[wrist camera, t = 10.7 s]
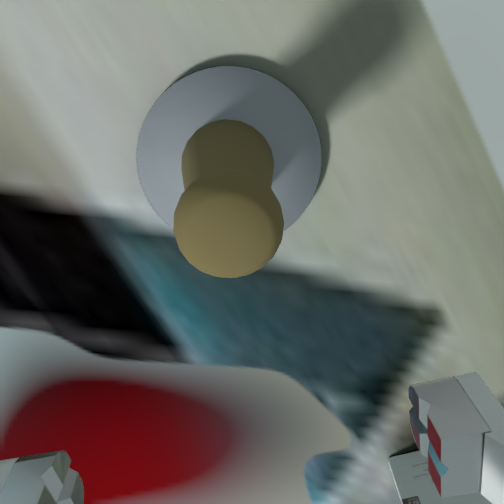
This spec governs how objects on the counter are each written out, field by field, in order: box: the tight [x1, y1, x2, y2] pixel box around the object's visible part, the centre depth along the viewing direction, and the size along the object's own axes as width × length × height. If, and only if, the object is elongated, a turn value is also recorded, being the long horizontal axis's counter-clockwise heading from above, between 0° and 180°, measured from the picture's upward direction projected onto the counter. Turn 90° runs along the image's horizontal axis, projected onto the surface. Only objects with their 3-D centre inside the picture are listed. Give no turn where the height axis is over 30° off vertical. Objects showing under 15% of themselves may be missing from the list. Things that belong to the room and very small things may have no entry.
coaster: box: [136, 66, 322, 231], centre depth 31 cm, size 12×12×1 cm
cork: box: [173, 119, 284, 278], centre depth 25 cm, size 6×6×11 cm
